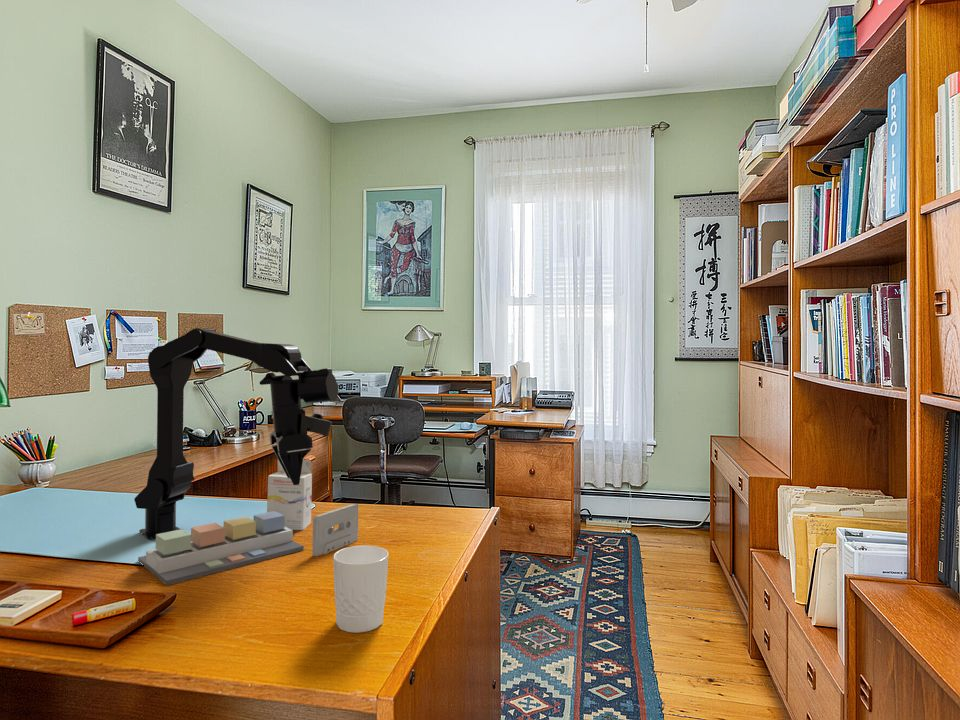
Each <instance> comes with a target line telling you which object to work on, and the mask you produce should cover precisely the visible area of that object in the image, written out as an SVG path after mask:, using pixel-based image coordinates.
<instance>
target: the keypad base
mask: <svg viewBox="0 0 960 720" xmlns="http://www.w3.org/2000/svg"><path fill="white" fill-rule="evenodd" d="M293 538H294V530H291V529H289V528H287V527H285V526H284V528H283V529H279V530H274V531H270V532H265V533H263V532H261V531H259V530H257V529H256V535H252V536H247V537H243V538H238V539H234V540H233V539H231V538H229V537H227V536H226V535H225V542H221V543H216V544H212V545H207V546H203V547H199V546H198V545H196V544H195V543H193V542H191V549H189V550H185V551H180V552H176V553H171V554H167V555H164V554H162V553H161V552H159V551H158V550H157V549H156V548H153V549H148V550H145V555H142V556H138V557H137V562H138V561H139V562H141V563H142V564H143V565H144V566H143V565H142V564H141V565H142V566H143V567H144V568H145V569H146V570H147V571H149V572H150V573H151V574H152V575H154V577H156V578H157V579H158V580H159V581H161V582H162V583H163V584H164V585H165V586H169V585H174V584H178V583H181V582H186V581H190V580H193V579H196V578H202V577H204V576H208V575H213V574H216V573H220V572H223V571H224V572H225V571H227V570H231V569H235V568H240V567H244V566H247V565H252V564H255V563H259V562H263V561H267V560H270V559H273V558H278V557H282V556H285V555H290V554H293V553H294V554H295V553H298V552H300V551H304V545H303V544H300V543H298V542H296V541H294V539H293ZM139 562H138V563H139Z"/></svg>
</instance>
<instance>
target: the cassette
mask: <svg viewBox="0 0 960 720" xmlns="http://www.w3.org/2000/svg"><path fill="white" fill-rule="evenodd" d="M335 526H338V528H335ZM358 539H359V504H358V503H352V504H349V505H345V506H342V507H339V508H335V509H333V510H330V511H326V512H324V513H320V514H317V515H314V516H313V517H312V550H311V551H312V556H313V557H319V556H321V555H326V554H328V553H331V552H333V551H336V550H338V549H341V548H344V547H345V546H349V545H351V544H353V543H354V542H356V541H358Z"/></svg>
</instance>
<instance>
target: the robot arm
mask: <svg viewBox="0 0 960 720" xmlns="http://www.w3.org/2000/svg"><path fill="white" fill-rule="evenodd" d="M208 350H209V351H213V352H216V353H220V354H225V355H228V356H233V357H236V358H241V359H245V360H248V361H250V362H252V363H254V364H255V365H256V366H258V367H260V368H263V369H265V370H267V371H269V372H267V373H266V374H265V376H264V377H263V378H262V379H261V380H260V381H259V385H261V386H264V385H265V386H266V385H270V395H271V396H270V397H271V408H272V410H271V412H270V413H271V416H272V421H273V430H272V432H271V433H270V434H269V444H270V445H271V448H272V450H273V452H274V455H275V456H276V458H277V461H278V460H279V462H280V464H281V466H282V468H283V470H284V472H285V473H286V475H287V477H288V478H290V479H291V481H292V483H293V485H298V484H299V483H300V476H301V470H302V463H303V460H304V458H305V457H306V456H307V455H308V454H309V453H310V452H311V450H312V449H313V447H314V446H313V438H312V437H311V436H310V435H309V434H308V432H310V433H315V434H319V435H321V436H323V437H329V436H330V432H331V427H332V425H333V421H330V420H327V419H324V417H323V414H321V413H320V414H319V413H315V412H313V414H312V415H311V416H309V415H306V410H305V409H304V408H302V406H303V405H302V400H303V401H304V403H306V404H319V403H328V402H335V401H336V400H337V399H338V397H339V396H338V394H339V384H338V382H337V379H336V377H335V375H334V374H333V369H332V368H330V367H328V368H326V367H325V368H322V369H321V368H320V369H317V370H313V369H312V367H311V366H309V364H308V363H307V362H306V361H305V360H304V358H303V357H302V352H301V351H300V349H299V347H297V346H296V345H295V344H287V343H286V344H285V343H268V342H266V343H265V342H258V341H253V340H250V339H246V338H241V337H237V336H234V335H230V334H225V333H222V332H217V331H213V330H212V329H210V328H197V327H196V328H193V329H191V330H189V331H188V332H186V333H185V334H183V335H181V336H179V337H176V338H174V339H172V340H170V341H168V342H166V343H165V344H163V345H159V346H156V347H154V348H153V349H152V350H151V351H150V352H149V354H148V356H147V363H148V372H149V376H150V378H151V380H152V381H153V383H154V385H155V387H156V390H157V391H156V392H157V400H156V401H157V402H156V404H157V406H156V407H157V408H156V410H157V411H156V418H157V419H156V423H157V424H156V456H155V459H154V460H153V463H152V464H151V467H150V468H149V470H148V473H147V474H148V476H147V479H146V480H147V481H146V486H145V487H144V488H143V489H142V490H141V491H140V492H139V493H138V494H137V495H136V496H135V497H134V498H133V500H134V503H135V506H136V509H144V512H145V516H144V517H145V519H144V520H145V521H144V525H145V527H144V528H140V529H139V531H138V533H140V534H141V533H142V534H141V535H142V536H144V537H146V538H147V539H148V540H149V539H156V534H160V533H165V532H170V531H175V530H180V529H181V528H180V527H178V526H177V514H176V513H177V502H178V501H183V500H184V499H185V496H186V493H187V491H188V490H189V489H191V486H192V484H193V482H194V481H195V480H196V479H195V477H194V468H195V464H194V462H193V461H190V462H188V461H187V459H186V458H185V456H184V403H185V402H184V398H185V395H184V391H185V386H186V384H187V383H188V381H189V380H190V377H191V374H192V370H193V365H194V364H193V363H194V362H196V361H198V360H199V359H200V358H202V357H203V356H204V354H205V353H206V352H207V351H208ZM275 373H280V374H282V375H276V374H275ZM292 377H298V379H297V378H296V379H293V378H292Z"/></svg>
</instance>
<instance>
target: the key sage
mask: <svg viewBox="0 0 960 720" xmlns="http://www.w3.org/2000/svg"><path fill="white" fill-rule="evenodd" d="M155 549H157V550H158V551H159V552H161V553H162V554H164V555H167V554H171V553H176V552H180V551H185V550H189V549H191V533H189V532H187V531H186V530H184V528H183V529H181V528H180V530H175V531H170V532H165V533H160V534H156V538H155Z"/></svg>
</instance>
